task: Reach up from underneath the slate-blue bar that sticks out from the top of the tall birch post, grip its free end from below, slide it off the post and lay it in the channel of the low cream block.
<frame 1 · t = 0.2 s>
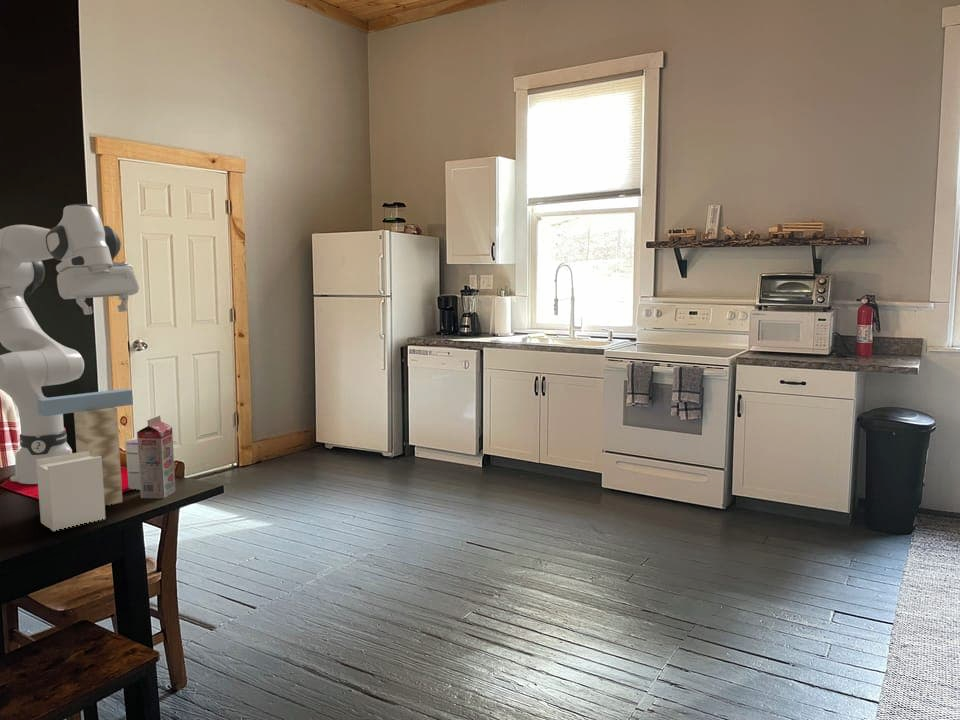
hand: (106, 312, 194), 51 cm above the table, tool tilted 15°, fingers open, 8 cm apart
cream block: (73, 520, 184), on the table
bar: (87, 409, 194), point 26 cm above the table, touching post
post: (101, 502, 198), on the table
juice carton: (158, 495, 205), on the table
syrup box: (143, 487, 212), on the table
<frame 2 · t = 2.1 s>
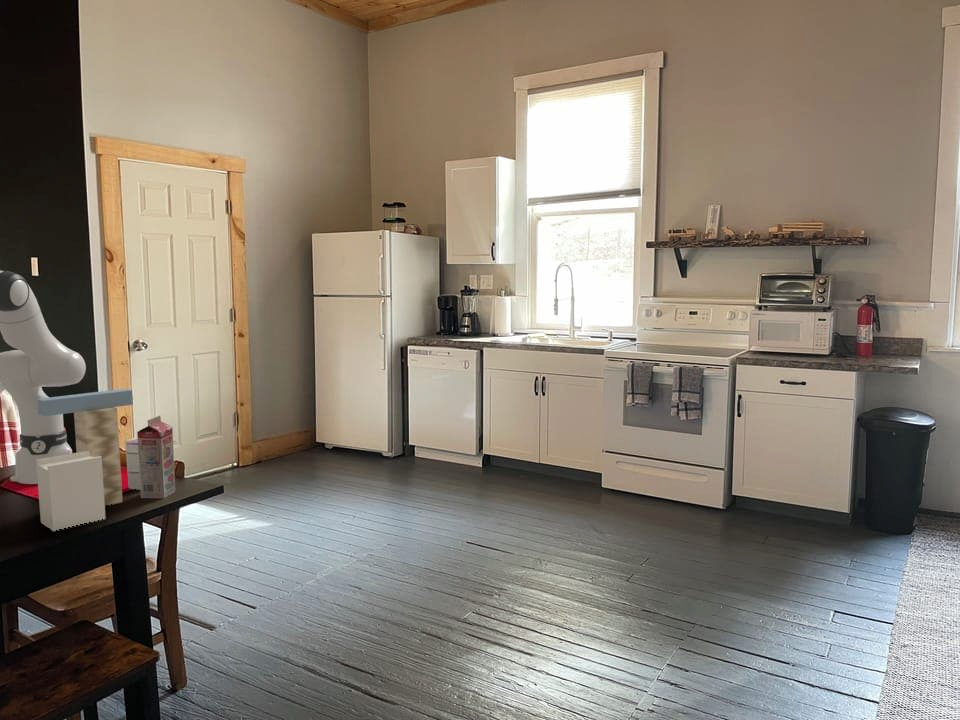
hand: (3, 378, 179), 36 cm above the table, tool pointing upward, fingers open, 8 cm apart
nothing on the table moved.
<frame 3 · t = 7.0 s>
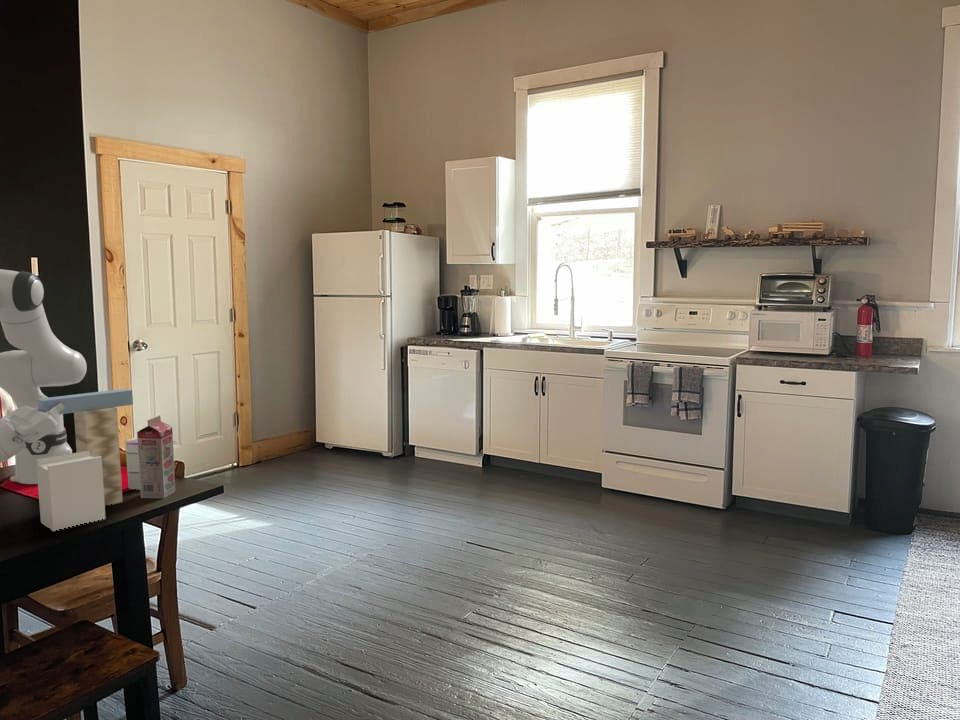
hand: (58, 403, 188), 28 cm above the table, tool pointing upward, fingers closed on bar, 4 cm apart
bar: (87, 409, 194), point 26 cm above the table, touching gripper, post
everything else where it was.
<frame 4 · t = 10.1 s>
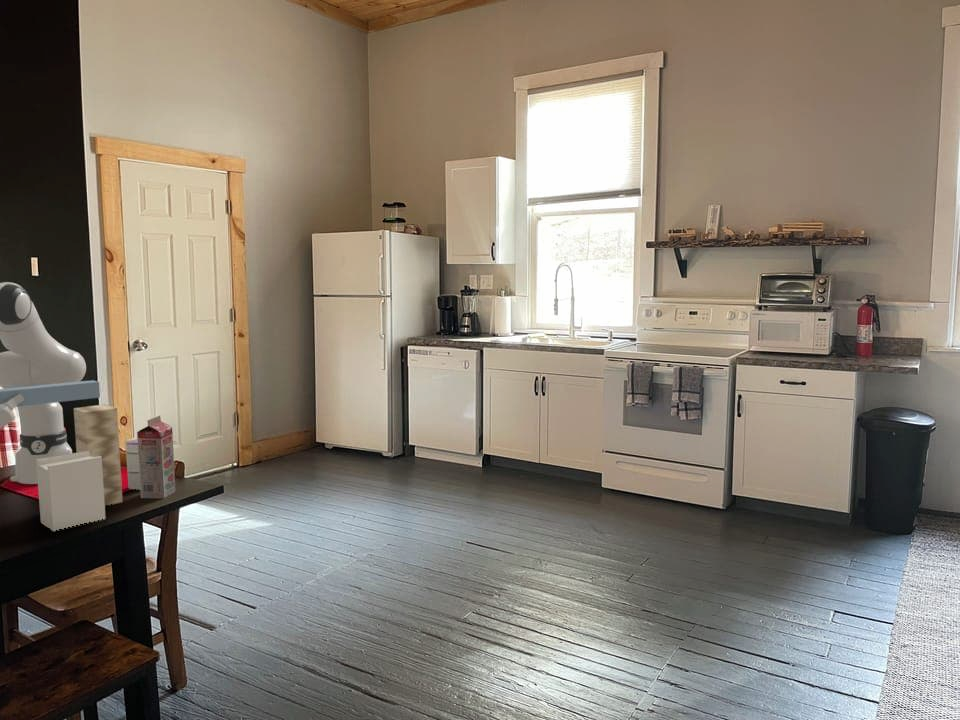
hand: (18, 394, 175), 33 cm above the table, tool pointing upward, fingers closed on bar, 4 cm apart
bar: (49, 401, 180), point 30 cm above the table, touching gripper
everything else where it was.
when the fingers open (19 cm above the table, at t = 13.4 s): bar drops 1 cm, resting on cream block.
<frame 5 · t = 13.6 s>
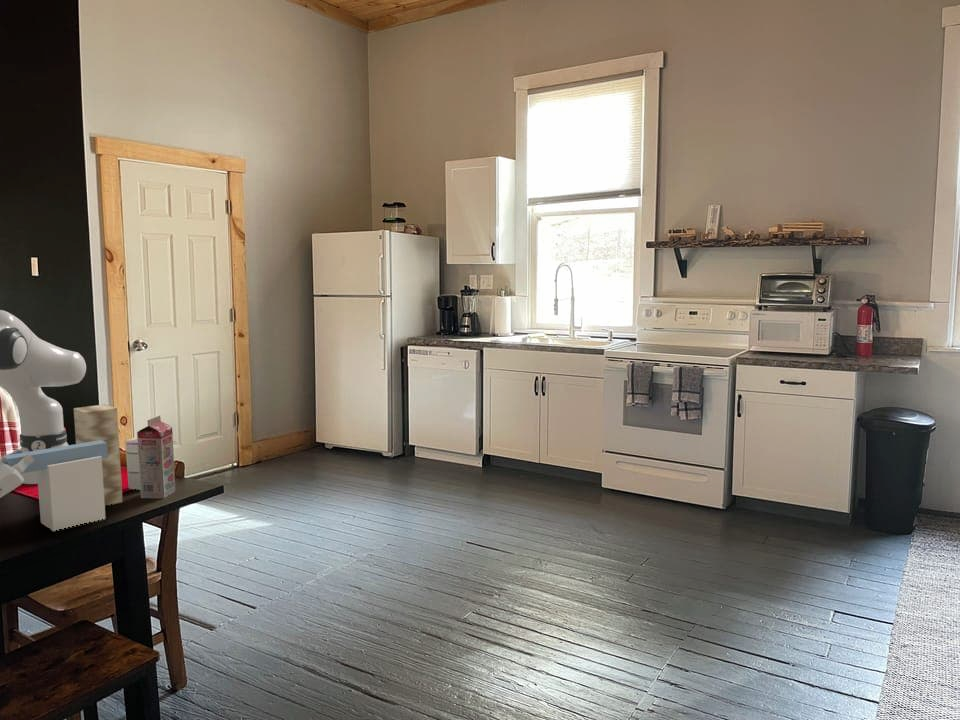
hand: (26, 454, 175), 19 cm above the table, tool pointing upward, fingers open, 6 cm apart
bar: (57, 464, 180), point 15 cm above the table, touching cream block
everything else where it was.
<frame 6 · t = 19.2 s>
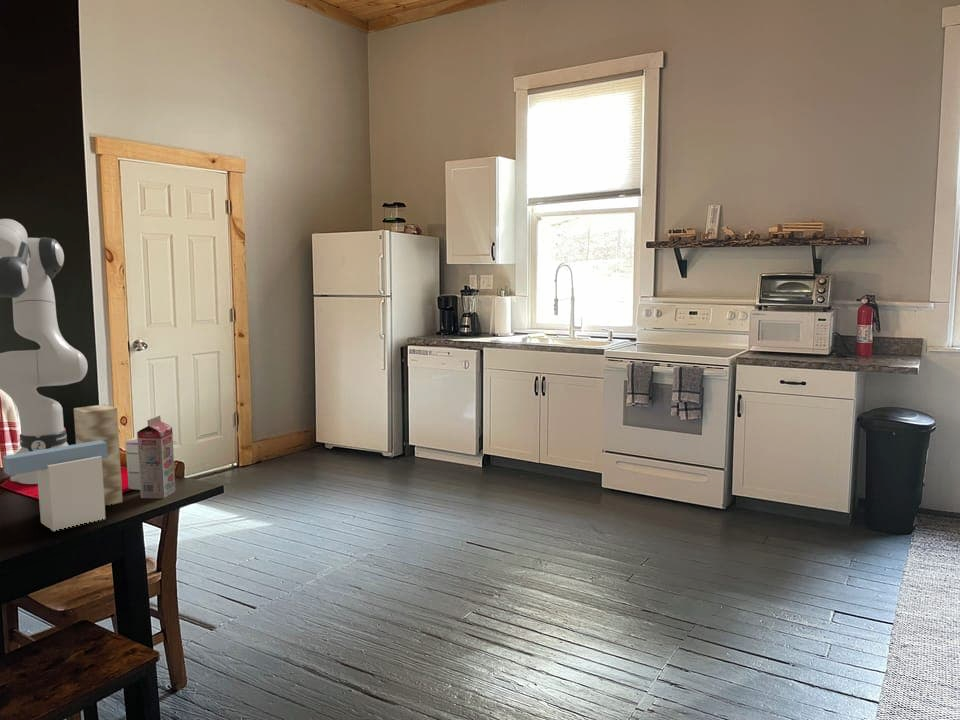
nothing on the table moved.
at the end: bar inside the target area on the cream block (0.9 cm from its centre), point 15.0 cm above the cream block's base; bar touching cream block; the gripper is holding nothing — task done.
